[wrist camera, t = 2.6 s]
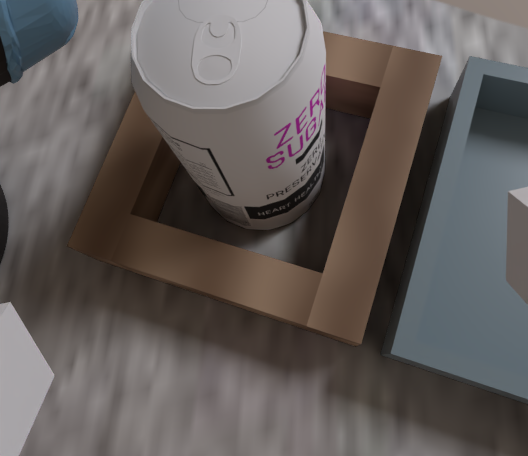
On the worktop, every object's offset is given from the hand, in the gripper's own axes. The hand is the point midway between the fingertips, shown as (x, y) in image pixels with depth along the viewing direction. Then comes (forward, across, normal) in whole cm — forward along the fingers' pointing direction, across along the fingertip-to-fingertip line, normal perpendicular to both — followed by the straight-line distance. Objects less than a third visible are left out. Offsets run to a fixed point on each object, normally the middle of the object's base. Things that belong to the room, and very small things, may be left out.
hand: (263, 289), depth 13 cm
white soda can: (+20, 0, -5) cm, 21 cm away
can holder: (+20, 0, -5) cm, 21 cm away
